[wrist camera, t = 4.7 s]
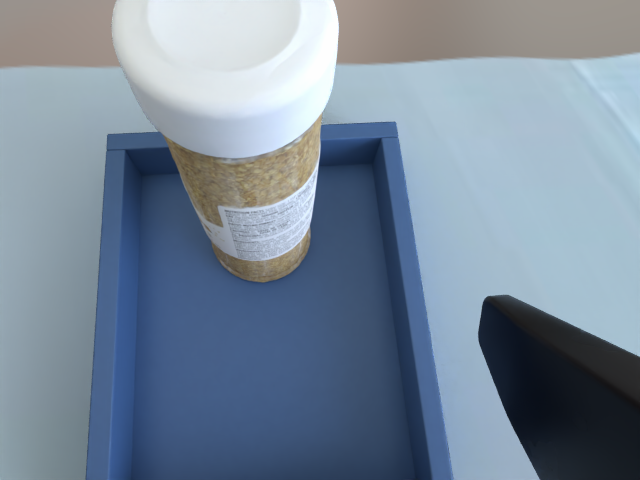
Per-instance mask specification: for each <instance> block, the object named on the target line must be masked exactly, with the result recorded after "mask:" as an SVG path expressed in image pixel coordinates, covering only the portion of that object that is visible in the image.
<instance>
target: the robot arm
mask: <svg viewBox="0 0 640 480" xmlns="http://www.w3.org/2000/svg"><path fill="white" fill-rule="evenodd" d="M478 338H479V344H480V347H481V349H482V352H483V355H484V357H485V360H486V362H487V365H488V368H489V370H490V373H491V375H492V378H493V381H494V383H495V386H496V388H497V391H498V394H499V396H500V399H501V401H502V404H503V406H504V409H505V411H506V414H507V416H508V418H509V420H510V422H511V424H512V426H513V428H514V430H515V432H516V434H517V436H518V438H519V440H520V442H521V444H522V446H523V448H524V450H525V452H526V454H527V455H528V457H529V459H530V461H531V463H532V465H533V467H534V469H535V471H536V473H537V475H538V477H539V479H540V480H640V357H639V356H637V355H635V354H633V353H630V352H628V351H626V350H624V349H622V348H620V347H618V346H616V345H613V344H611V343H609V342H607V341H605V340H603V339H601V338H599V337H596V336H594V335H592V334H590V333H588V332H586V331H584V330H582V329H579V328H577V327H575V326H573V325H571V324H569V323H567V322H565V321H562V320H560V319H558V318H556V317H554V316H552V315H550V314H548V313H546V312H543V311H541V310H539V309H537V308H535V307H533V306H531V305H529V304H526V303H524V302H522V301H520V300H518V299H516V298H514V297H512V296H509V295H496V296H488V297H486V298H485V299H484V302H483V305H482V312H481V318H480V325H479V331H478Z"/></svg>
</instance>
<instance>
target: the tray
mask: <svg viewBox="0 0 640 480" xmlns="http://www.w3.org/2000/svg"><path fill="white" fill-rule="evenodd" d="M310 230H311V239H310V245H309V248H308V251H307V253H306V255H305V257H304V259H303V260H302V261H301V263H300V265H299V266H298V267H297V268H296V269H295V270H293V271H292V272H291V273H289V274H288V275H286V276H284V277H281V278H280V279H277V280H272V281H268V282H253V281H248V280H244V279H242V278H240V277H237V276H235V275H233V274H232V273H231V272H229V271H228V270H227V269H225V268H224V267H223V266H222V264H221V263H220V262H219V260H218V258H217V257H216V255H215V253H214V250H213V247H212V243H211V240H210V238H209V237H208V235H207V234H206V232H205V230H204V228H203V226H202V223H201V221H200V219H199V217H198V215H197V213H196V210H195V208H194V206H193V204H192V202H191V199H190V197H189V194H188V193H187V191H186V189H185V187H184V184H183V181H182V179H181V176H180V172H179V170H178V168H177V165H176V163H175V161H174V159H173V157H172V154H171V151H170V149H169V147H168V144H167V142H166V140H165V138H164V136H163V134H162V133H161V132H146V133H123V134H108V135H107V151H106V164H105V180H104V196H103V212H102V228H101V244H100V259H99V275H98V291H97V307H96V323H95V339H94V355H93V370H92V386H91V402H90V418H89V434H88V450H87V466H86V480H453V474H452V468H451V462H450V456H449V449H448V443H447V437H446V431H445V424H444V418H443V412H442V406H441V400H440V393H439V387H438V381H437V375H436V368H435V362H434V356H433V350H432V344H431V337H430V331H429V325H428V319H427V312H426V306H425V300H424V294H423V288H422V281H421V275H420V269H419V263H418V256H417V250H416V244H415V238H414V232H413V225H412V219H411V213H410V207H409V201H408V194H407V188H406V182H405V176H404V169H403V163H402V157H401V151H400V145H399V139H398V132H397V126H396V122H375V123H352V124H329V125H321V129H320V158H319V166H318V174H317V182H316V190H315V198H314V204H313V211H312V218H311V222H310Z"/></svg>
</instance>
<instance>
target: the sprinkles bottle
mask: <svg viewBox="0 0 640 480" xmlns="http://www.w3.org/2000/svg"><path fill="white" fill-rule="evenodd" d="M111 25H112V39H113V44H114V48H115V52H116V55H117V58H118V60H119V63H120V65H121V67H122V70H123V72H124V74H125V76H126V78H127V80H128V83H129V85H130V87H131V89H132V91H133V93H134V95H135V97H136V99H137V101H138V103H139V105H140V107H141V109H142V110H143V112H144V114H145V115H146V117H147V118H148V120H149V121H150V122H151V123H152V124H153V125H154V126H155V128H156V129H157V130H158V131H159V132H161V133H162V134H163V136H164V138H165V140H166V142H167V144H168V147H169V149H170V151H171V154H172V157H173V159H174V161H175V163H176V165H177V168H178V170H179V172H180V176H181V179H182V181H183V184H184V187H185V189H186V191H187V193H188V194H189V197H190V199H191V202H192V204H193V206H194V208H195V210H196V213H197V215H198V217H199V219H200V221H201V223H202V226H203V228H204V230H205V232H206V234H207V235H208V237H209V238H210V240H211V243H212V247H213V250H214V253H215V255H216V257H217V258H218V260H219V262H220V263H221V264H222V266H223V267H224V268H225V269H227V270H228V271H229V272H231V273H232V274H233V275H235V276H237V277H240V278H242V279H244V280H248V281H253V282H268V281H272V280H277V279H280V278H281V277H284V276H286V275H288V274H289V273H291V272H292V271H293V270H295V269H296V268H297V267H298V266H299V265H300V263H301V261H302V260H303V259H304V257H305V255H306V253H307V251H308V248H309V245H310V239H311V230H310V222H311V218H312V211H313V204H314V198H315V190H316V182H317V174H318V166H319V158H320V129H321V121H322V112H323V110H324V108H325V106H326V104H327V102H328V99H329V97H330V94H331V90H332V87H333V80H334V73H335V66H336V57H337V46H338V29H339V25H338V17H337V12H336V8H335V5H334V2H333V0H116V3H115V6H114V11H113V15H112V24H111Z"/></svg>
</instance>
